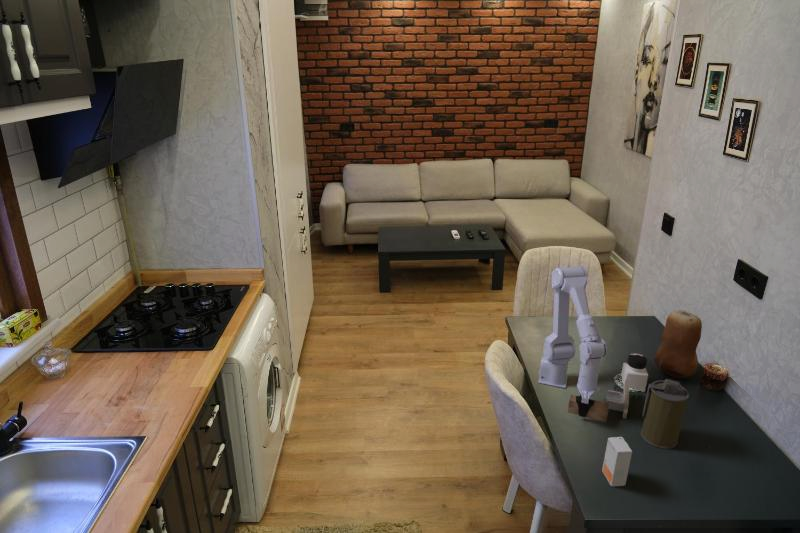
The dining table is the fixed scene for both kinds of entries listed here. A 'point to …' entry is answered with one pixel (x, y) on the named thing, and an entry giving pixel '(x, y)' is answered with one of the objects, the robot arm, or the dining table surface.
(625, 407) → the wall plate
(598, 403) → the brown wooden block
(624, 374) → the medicine bottle
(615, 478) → the skincare box
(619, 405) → the bracket
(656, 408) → the canister
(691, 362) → the butternut squash
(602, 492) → the dining table surface
